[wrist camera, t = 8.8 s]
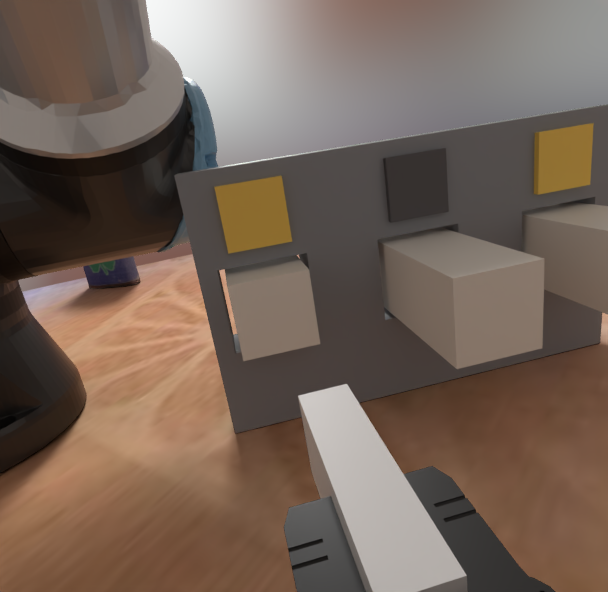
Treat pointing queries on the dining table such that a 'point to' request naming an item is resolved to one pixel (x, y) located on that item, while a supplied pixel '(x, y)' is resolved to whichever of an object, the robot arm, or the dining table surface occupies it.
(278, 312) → the button left
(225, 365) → the light board
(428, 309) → the button mid
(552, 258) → the button right
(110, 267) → the flask
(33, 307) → the dining table surface
